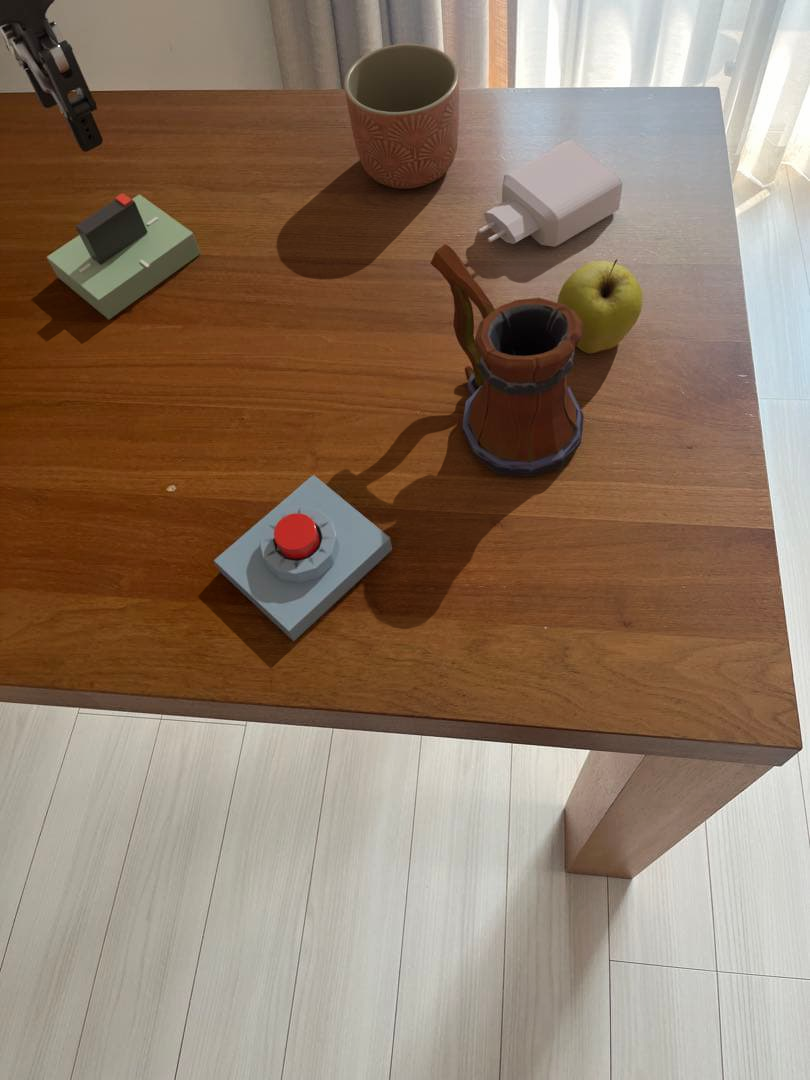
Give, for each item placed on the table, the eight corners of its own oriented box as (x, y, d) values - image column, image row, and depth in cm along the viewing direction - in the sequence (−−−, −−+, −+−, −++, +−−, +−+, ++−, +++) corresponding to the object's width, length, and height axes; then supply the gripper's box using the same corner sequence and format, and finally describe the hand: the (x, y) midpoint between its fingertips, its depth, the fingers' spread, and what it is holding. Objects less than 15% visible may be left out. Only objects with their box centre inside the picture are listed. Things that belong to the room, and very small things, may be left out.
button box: (293, 641, 75) (284, 622, 72) (219, 571, 79) (207, 550, 76) (392, 549, 79) (388, 527, 75) (317, 487, 83) (309, 463, 79)
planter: (483, 168, 103) (482, 80, 93) (395, 216, 100) (385, 130, 91) (422, 117, 108) (415, 29, 99) (337, 160, 106) (322, 74, 96)
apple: (555, 290, 91) (593, 222, 82) (625, 322, 91) (671, 258, 82) (532, 347, 88) (569, 282, 79) (605, 380, 88) (650, 319, 79)
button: (297, 567, 75) (293, 557, 73) (269, 542, 76) (265, 532, 75) (327, 539, 76) (324, 529, 74) (300, 515, 77) (296, 505, 76)
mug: (399, 382, 88) (384, 268, 75) (491, 327, 91) (492, 208, 78) (512, 503, 80) (516, 400, 67) (609, 439, 83) (631, 328, 70)
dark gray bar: (101, 265, 96) (84, 232, 92) (90, 256, 96) (73, 224, 93) (148, 232, 98) (134, 199, 94) (137, 224, 98) (123, 191, 95)
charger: (458, 231, 98) (564, 172, 101) (510, 277, 94) (618, 214, 97) (457, 195, 94) (567, 135, 97) (511, 243, 90) (624, 178, 93)
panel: (110, 321, 96) (99, 300, 93) (55, 275, 100) (43, 254, 97) (202, 255, 100) (194, 233, 97) (146, 213, 104) (136, 191, 101)
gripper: (-87, -76, 72) (7, 106, 86) (-21, -4, 66) (69, 180, 80) (-3, -111, 74) (76, 74, 88) (69, -43, 67) (141, 143, 82)
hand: (72, 124), depth 84 cm, fingers open, 8 cm apart
